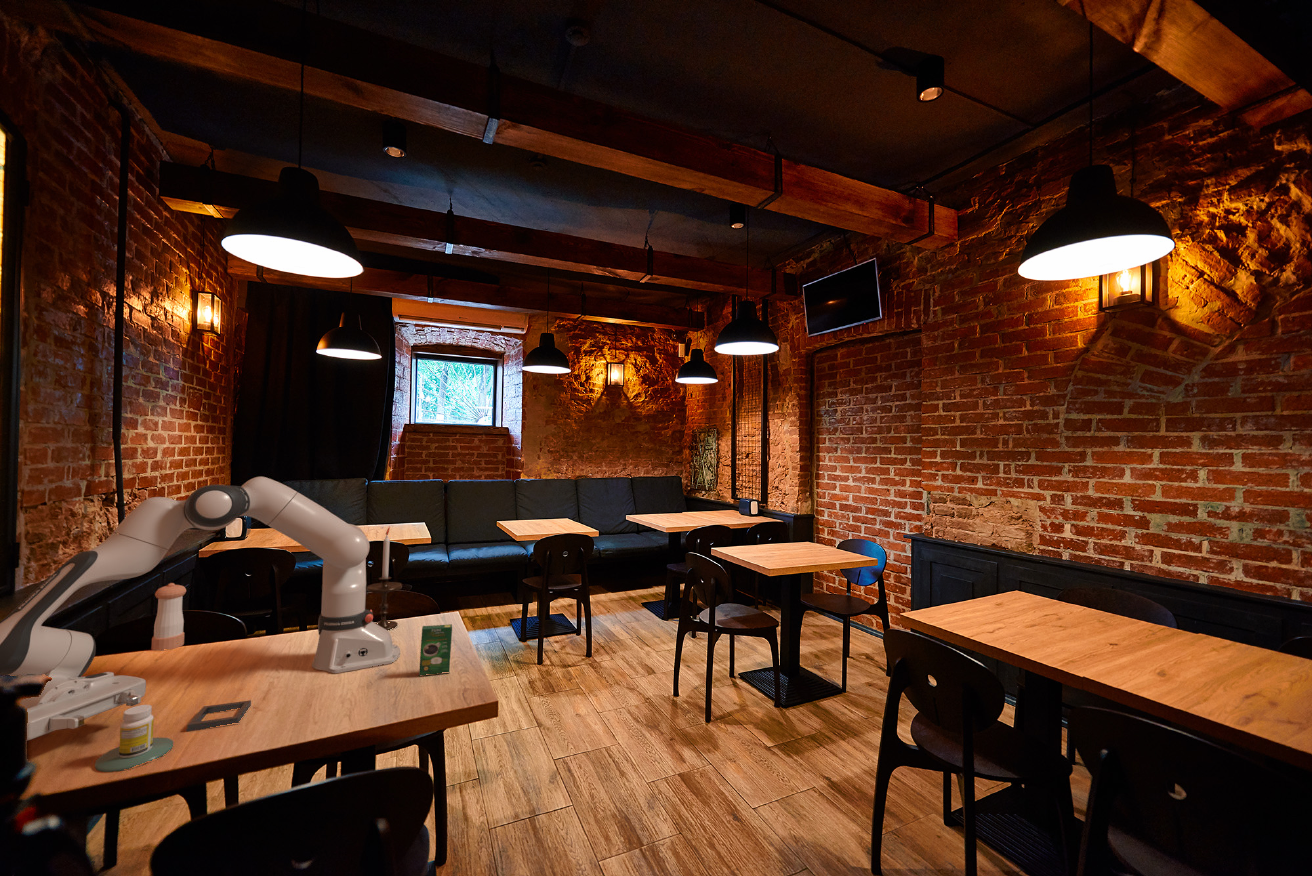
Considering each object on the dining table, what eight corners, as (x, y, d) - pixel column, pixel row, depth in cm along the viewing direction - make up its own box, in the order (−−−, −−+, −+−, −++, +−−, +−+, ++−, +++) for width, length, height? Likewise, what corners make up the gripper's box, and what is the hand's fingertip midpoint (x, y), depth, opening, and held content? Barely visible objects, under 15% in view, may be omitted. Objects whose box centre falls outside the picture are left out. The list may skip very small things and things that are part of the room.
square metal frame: (250, 706, 125) (251, 700, 125) (238, 724, 117) (238, 717, 117) (203, 712, 122) (203, 706, 122) (186, 731, 113) (187, 725, 113)
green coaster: (182, 736, 112) (182, 733, 112) (158, 764, 101) (158, 761, 101) (114, 746, 107) (114, 743, 107) (81, 777, 97) (81, 773, 97)
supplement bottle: (133, 745, 107) (136, 703, 107) (158, 745, 107) (161, 703, 107) (111, 759, 102) (113, 715, 102) (137, 758, 102) (140, 714, 103)
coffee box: (450, 669, 149) (452, 623, 149) (450, 673, 146) (452, 626, 147) (419, 673, 146) (421, 625, 147) (418, 677, 143) (420, 628, 144)
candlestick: (398, 620, 190) (402, 523, 191) (402, 629, 181) (406, 527, 182) (364, 625, 184) (368, 525, 186) (366, 634, 175) (370, 529, 176)
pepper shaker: (165, 651, 157) (168, 587, 157) (144, 649, 158) (148, 585, 158) (190, 643, 164) (193, 581, 164) (170, 641, 165) (174, 579, 166)
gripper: (-14, 710, 99) (41, 720, 96) (117, 668, 119) (166, 675, 116) (-16, 745, 98) (38, 755, 96) (115, 697, 118) (164, 704, 116)
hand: (109, 711), depth 106 cm, fingers open, 8 cm apart
